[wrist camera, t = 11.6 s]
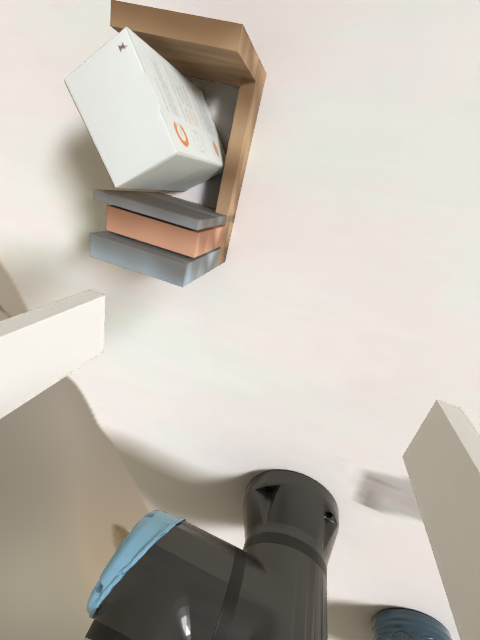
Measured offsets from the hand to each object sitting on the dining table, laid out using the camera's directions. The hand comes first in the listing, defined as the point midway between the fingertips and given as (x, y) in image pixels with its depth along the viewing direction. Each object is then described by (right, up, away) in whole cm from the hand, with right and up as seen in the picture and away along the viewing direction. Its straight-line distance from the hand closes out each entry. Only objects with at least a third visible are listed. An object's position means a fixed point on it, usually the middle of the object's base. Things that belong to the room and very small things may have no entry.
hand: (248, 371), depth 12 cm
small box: (-5, +22, +21) cm, 31 cm away
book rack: (-5, +19, +22) cm, 29 cm away
